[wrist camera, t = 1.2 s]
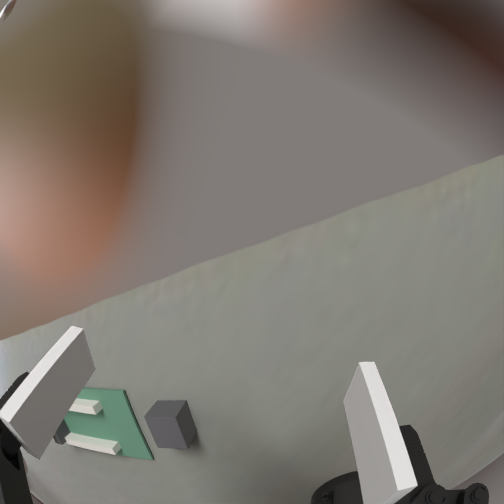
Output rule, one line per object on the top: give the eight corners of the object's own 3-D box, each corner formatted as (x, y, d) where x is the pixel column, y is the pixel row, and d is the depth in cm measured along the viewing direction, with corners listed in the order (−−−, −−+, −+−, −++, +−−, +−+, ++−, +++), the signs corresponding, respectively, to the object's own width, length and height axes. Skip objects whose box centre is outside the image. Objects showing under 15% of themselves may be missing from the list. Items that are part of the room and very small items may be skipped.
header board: (153, 457, 39) (137, 483, 32) (70, 442, 41) (51, 459, 34) (124, 389, 39) (100, 411, 31) (42, 382, 41) (19, 396, 34)
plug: (196, 430, 38) (187, 449, 33) (167, 430, 39) (156, 447, 34) (186, 400, 38) (175, 417, 33) (156, 400, 39) (143, 416, 34)
